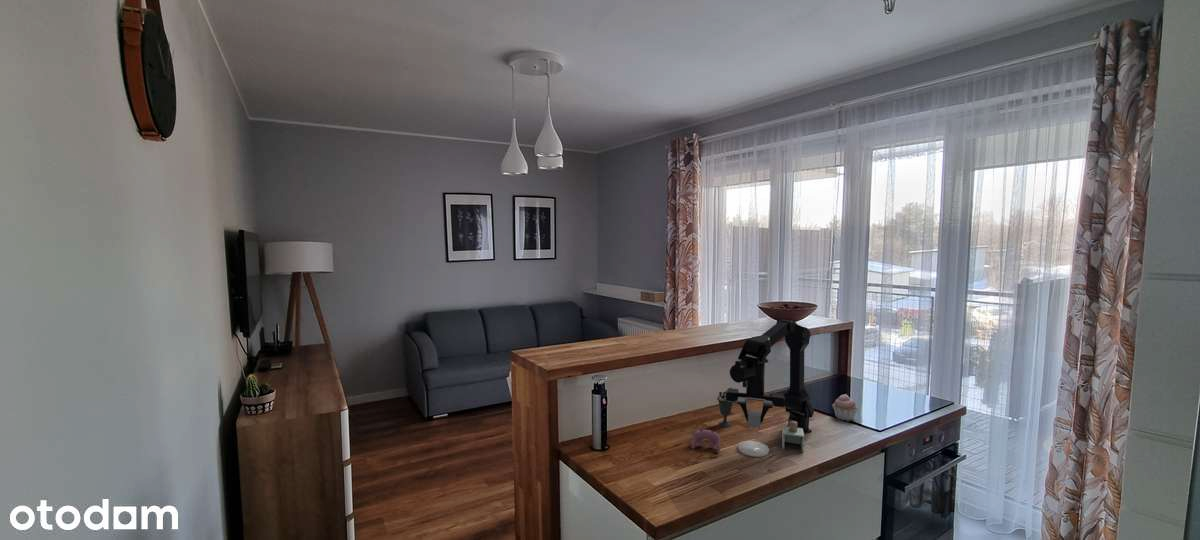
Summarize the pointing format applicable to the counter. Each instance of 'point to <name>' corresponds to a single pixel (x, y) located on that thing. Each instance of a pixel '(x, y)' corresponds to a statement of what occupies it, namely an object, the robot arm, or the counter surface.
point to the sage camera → (793, 434)
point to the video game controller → (706, 434)
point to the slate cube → (754, 419)
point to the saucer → (753, 448)
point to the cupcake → (845, 408)
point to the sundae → (724, 408)
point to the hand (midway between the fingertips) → (754, 422)
